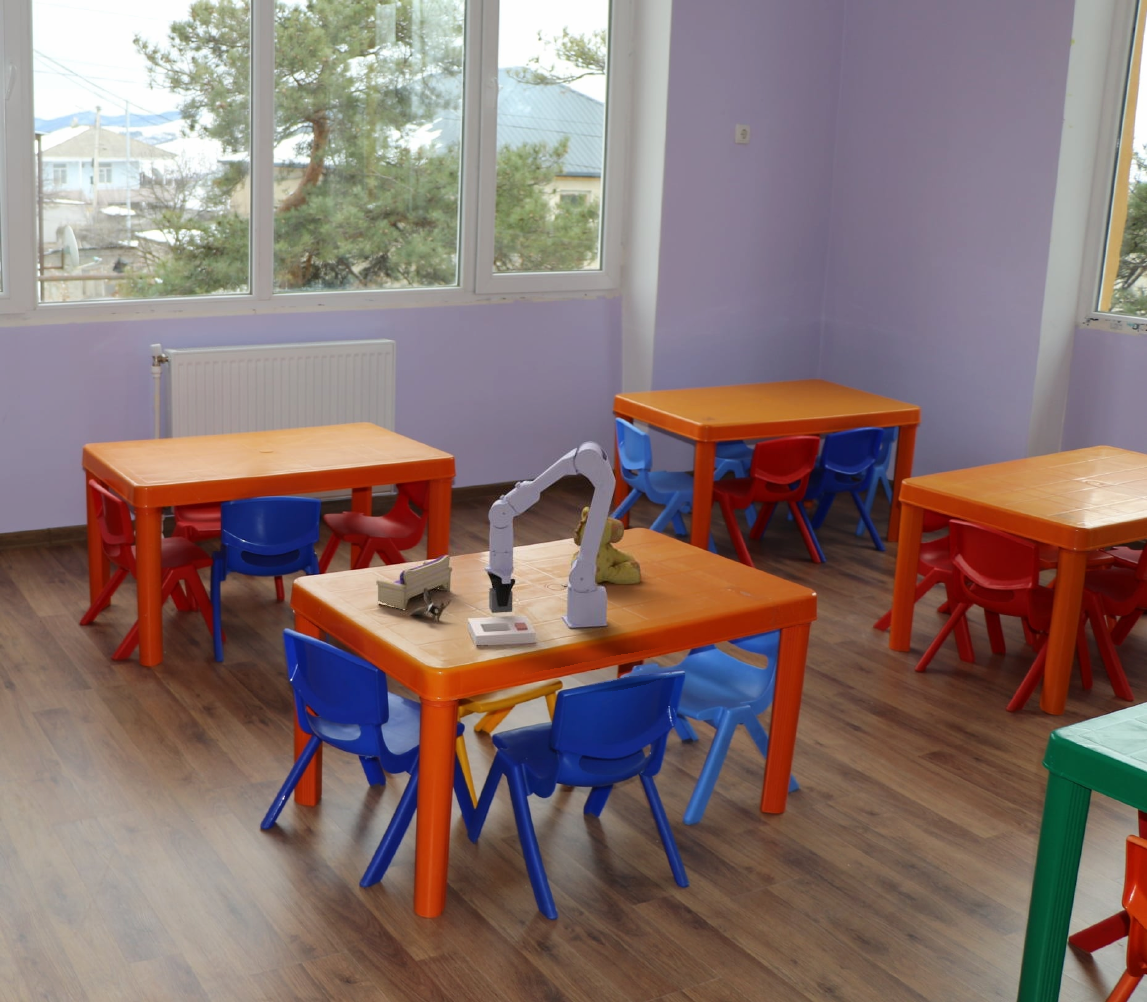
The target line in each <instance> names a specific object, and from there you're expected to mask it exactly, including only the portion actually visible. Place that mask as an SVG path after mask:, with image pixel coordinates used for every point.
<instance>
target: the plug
mask: <svg viewBox="0 0 1147 1002" xmlns="http://www.w3.org/2000/svg"><path fill="white" fill-rule="evenodd" d="M488 590H489V591H488V592H489V593H488V594H489V595H488V599H489V601H488V603H489V604H488V607H489V611H490V612H491V614H497V613H498V614H499V613H512V612H513V596H514V595H513V593H514V592H513V590H511V592H510V596H509V600H508V604H507V606H505V607H499V606H498V603H497V597H496V591H495V588H492V587H491V588H490V587H489V589H488Z"/></svg>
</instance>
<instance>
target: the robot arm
mask: <svg viewBox="0 0 1147 1002" xmlns="http://www.w3.org/2000/svg"><path fill="white" fill-rule="evenodd" d="M578 472H579V473H580V474H581V475H582V476H584V477H586V478H587V479H588V480H589V481H590V482H591V484H592V486H593V487H594V492H593V496H592V500H591V504H590V507H589V508H590V511H589V515H588V519H587V523H586V527H585V531H584V535H583V539H582V542H581V546H579V550H578V551H579V554H578V556H577V558H576V559H575V560H574V561H573V563H572V565H571V564H570V565H571V567H570V573H569V574H568V583H569V584H568V586H567V594H566V595H567V597H566V598H567V601H566V602H567V603H566V614H565V615H562V617H561V618H562V619H563V621H564V622H565V624H566V626H567V627H568V628H569V629H571V628H589V627H592V628H593V627H606V626H607V625H608V623H607V616H608V615H607V613H608V612H607V611H608V595H607V594H608V593H607V590H606V587H605V586H603V585H602V586H597V584H598V583H597V584H596V582H595V574H596V571H597V566H596V558H597V554H598V550H599V546H600V542H601V538H602V535H603V531H604V527H605V523H606V519H607V517H608V516H609V515H608V514H609V512H610V507H611V504H612V499H613V495H614V493H615V492H614V491H615V488H616V482H617V481H616V478H615V475H614V471H613V469H612V466H611V463H610V460H609V457H608V454H607V452H606V451H605V450H604V449H603V448H602V446H601V445H600V444H599V443H597V442H595V441H586V442H583V443H581V444H580V445H579V448H577V447H576V448H574V449H572V450H570V451H568V453H566V454H565V455H563V456H562V457H561V458H560V459H558V460H557V461H556V462H555V463H553V464H552V465H550V466H549V468H548V469H545V471H543V472H542V473H541V474H540V475H539V476H537V478H535V479H534V480H533V481H531V480H524V481H522V482H521V481H518V482H517V483H516V484H514V488H513V489H512V490H510V491H509V492H508V493H507V494H506V495H504V494H502V495H501V496H500V497H499V499H498V500H495V502H494V503H493V504H492V506H491V508H490V509H489V511H488V521H489V522H490V523H489V528H490V530H489V557H488V559H489V561H488V563H489V564H488V565H489V566H484V569H483V570H484V572H486V573H487V576H488V578H489V580H490V584H491V588H495V591H496V597H497V603H498V606H499V607H505V606H507V604H508V600H509V596H510V592H511V591H513V590H512V589H513V588H514V586H515V584H516V579H515V578H512V575H513V572H514V570H515V569H514V568H515V567H514V529H513V527H514V526H513V525H514V524H513V522H514V521H513V519H514V517H517V516H520V515H521V514H522V513H524V512H525V511H526V510H527V509H529V508H531V506H533V505H534V504H536V503H537V502H538V501H540V497H541V492H543V491H544V490H546V489H547V488H549V487H550V486H551V485H552V484H554V483H555V482H557V481H559V480H560V479H561V478H562V477H563V478H564V476H566V475H578Z"/></svg>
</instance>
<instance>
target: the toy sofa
mask: <svg viewBox="0 0 1147 1002" xmlns="http://www.w3.org/2000/svg"><path fill="white" fill-rule="evenodd" d="M450 558H451V557H450V555H447V554H444V555H441V556H439V557H438V558H436V559H434V560H431V561H428V560H424V561H423V563H422V565H419V566H416V567H413V568H409V569H405V570H402V572H401V573H400V574H399V579H397V580H395V581H390V580H384V579H380V578H377V580H376V585H377V599H378V600H377V602H378V601H380V602H382V603H386V604H387V605H391V606H394V607H397V608H401V609H406V610H407V604H408V602H409V601H410V599H411V598H412V597H415V596H418V595H420V594H422V593H423V594H424V588H427V591H430V590H432V589H436V588H439V589H438V590H440V589H442V590H441V591H445V590H447V591H446V592H450V591H451V577H452V576H451V574H452V572H453V568H452V566H450V561H451V560H450Z"/></svg>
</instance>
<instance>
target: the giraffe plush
mask: <svg viewBox="0 0 1147 1002" xmlns="http://www.w3.org/2000/svg"><path fill="white" fill-rule="evenodd" d="M589 511H590V507H589V506H585V507H584V508H583V509H582V512H581V520H579V521H578V525H577V528H576V529H574V531H573V535H575V536H574V537H573V543H574V544H575V545H576V546H578V547H580V546H581V542H582V539H583V535H584V531H585V527H586V523H587V519H588V515H589ZM624 526H625V525H624V523H623V522H622V521H621V520H619V519H617V518H614V517H611V516H607V519H606V523H605V527H604V531H603V535H602V538H601V542H600V546H599V550H598V554H597V558H596V566H597V571H596V574H595V582H596V584H597V586H603V585H601V584H600V583H602V582H608V583H611V584H615V585H630V584H631V585H632V584H635V585H636V584H639V583H640V581H641V577H642V573H641V571H642V570H641V567H640V563H639V562H638V561H637V560H636V558H635V557H633V555H632V554H630V553H629V552H625V551H622V550H618V548H615V547H614V546H613V545H612V544H617V543H619V542H620V541H621V540H622V539H623V537H624V534H625V527H624ZM578 554H579V550H577V551H576V552H575V553H574V554H573V556H572V558H571V562H570V565H572V563H573V561H574V560H575V559H576V558H577V556H578ZM568 584H569V582H566V583H560V585H561V586H563V587H568Z"/></svg>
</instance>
